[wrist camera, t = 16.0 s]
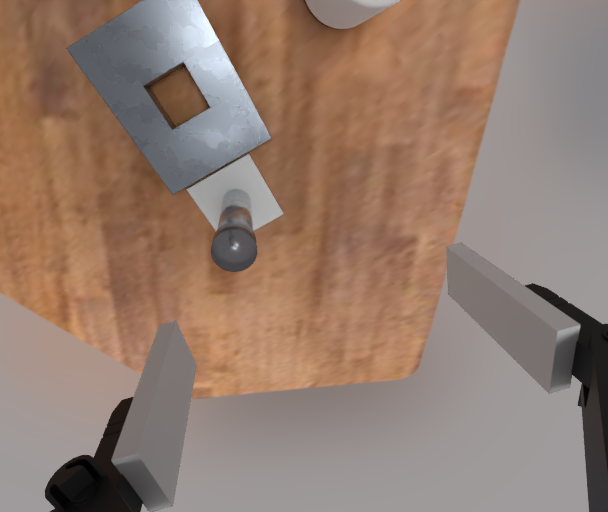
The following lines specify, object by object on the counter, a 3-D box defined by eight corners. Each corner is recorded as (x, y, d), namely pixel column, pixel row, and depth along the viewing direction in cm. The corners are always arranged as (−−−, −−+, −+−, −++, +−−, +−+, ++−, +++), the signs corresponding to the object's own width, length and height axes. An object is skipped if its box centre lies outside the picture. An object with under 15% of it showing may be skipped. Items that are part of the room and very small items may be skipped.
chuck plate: (77, 51, 33) (66, 48, 31) (187, -18, 32) (183, -26, 30) (176, 189, 39) (172, 194, 37) (269, 135, 39) (271, 138, 36)
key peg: (221, 217, 41) (212, 272, 29) (219, 187, 40) (209, 231, 27) (253, 217, 42) (257, 270, 29) (252, 186, 40) (256, 230, 28)
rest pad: (186, 188, 40) (186, 189, 39) (248, 153, 39) (248, 153, 39) (226, 244, 43) (226, 246, 43) (283, 213, 43) (283, 214, 42)
